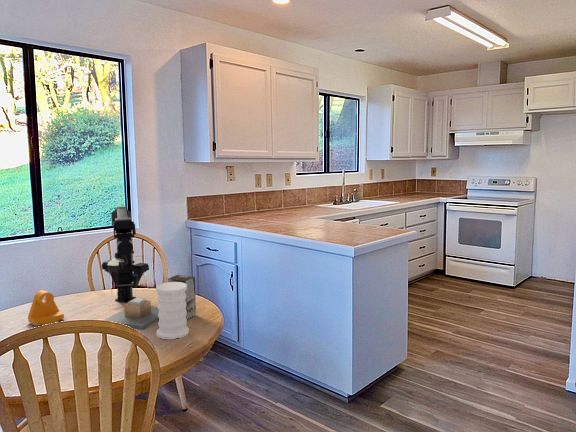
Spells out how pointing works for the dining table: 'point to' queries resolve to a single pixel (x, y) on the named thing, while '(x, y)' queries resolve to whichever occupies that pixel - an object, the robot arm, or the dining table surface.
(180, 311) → the decorative container
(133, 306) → the collar
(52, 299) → the bracket
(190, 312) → the coffee box
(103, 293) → the dining table surface
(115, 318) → the duct base
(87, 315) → the dining table surface
